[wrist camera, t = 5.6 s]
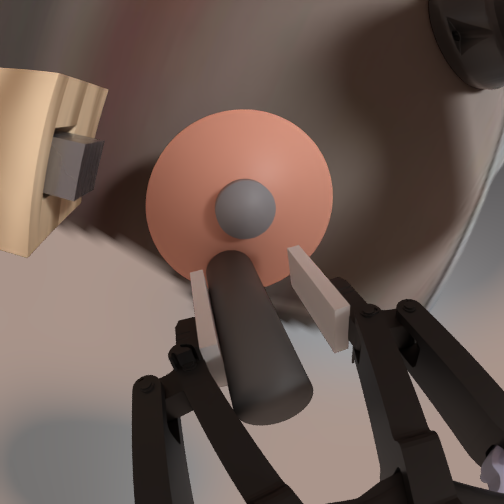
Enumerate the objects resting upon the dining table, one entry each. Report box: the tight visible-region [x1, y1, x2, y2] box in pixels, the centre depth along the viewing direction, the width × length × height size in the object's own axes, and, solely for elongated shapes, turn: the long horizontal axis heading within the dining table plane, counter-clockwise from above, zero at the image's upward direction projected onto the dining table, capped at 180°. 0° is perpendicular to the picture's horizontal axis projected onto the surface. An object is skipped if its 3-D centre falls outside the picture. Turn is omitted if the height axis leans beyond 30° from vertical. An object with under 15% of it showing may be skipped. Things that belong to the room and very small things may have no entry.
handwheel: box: [146, 109, 333, 425], centre depth 15 cm, size 12×12×12 cm
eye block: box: [0, 68, 108, 258], centre depth 17 cm, size 6×10×11 cm, turn 161°
